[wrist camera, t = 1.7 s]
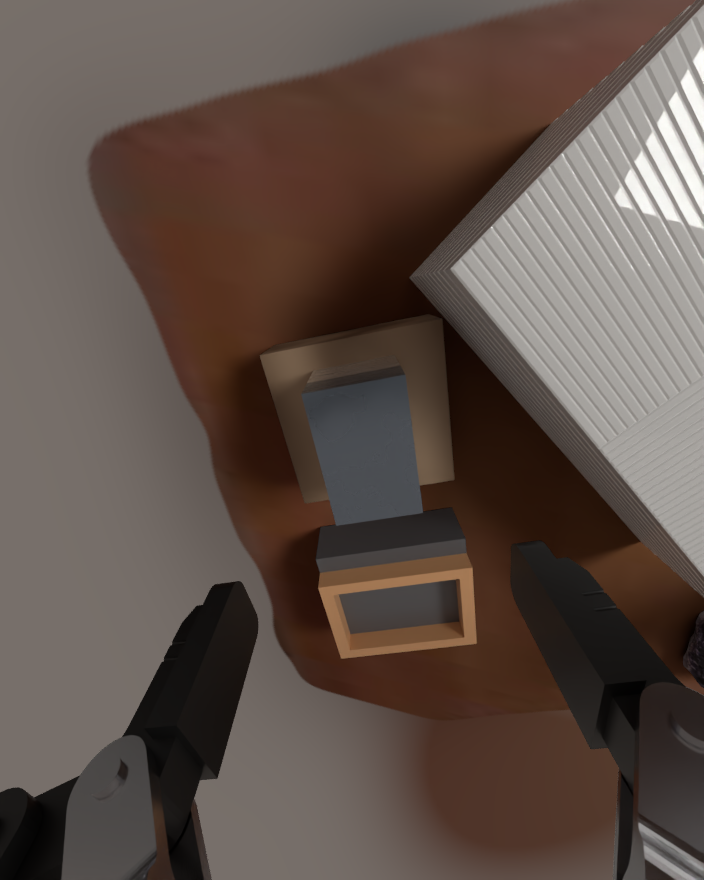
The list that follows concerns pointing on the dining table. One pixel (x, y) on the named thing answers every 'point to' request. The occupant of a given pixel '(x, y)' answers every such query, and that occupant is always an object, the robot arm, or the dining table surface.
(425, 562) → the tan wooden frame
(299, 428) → the walnut stand
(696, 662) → the crystal cluster
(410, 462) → the block
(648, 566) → the dining table surface
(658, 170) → the long white block
